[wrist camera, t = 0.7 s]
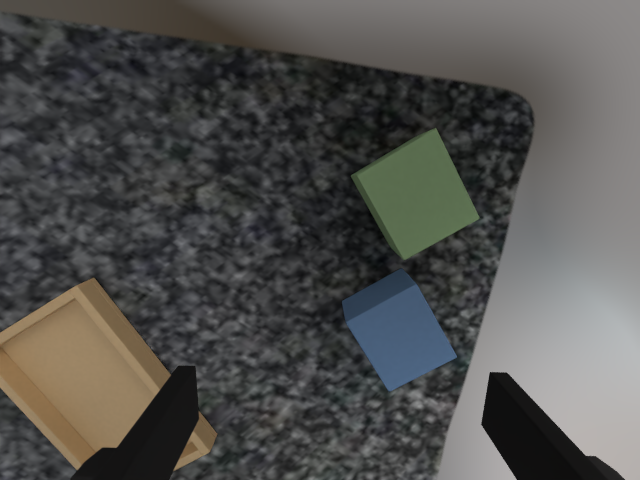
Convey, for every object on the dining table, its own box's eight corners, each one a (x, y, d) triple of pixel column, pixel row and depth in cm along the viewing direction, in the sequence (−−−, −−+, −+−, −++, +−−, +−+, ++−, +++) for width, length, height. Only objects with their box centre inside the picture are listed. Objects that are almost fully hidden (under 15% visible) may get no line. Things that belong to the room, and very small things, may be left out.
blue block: (401, 267, 26) (416, 283, 22) (437, 331, 27) (457, 357, 23) (341, 300, 26) (345, 322, 22) (378, 361, 27) (389, 392, 24)
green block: (416, 136, 23) (436, 127, 20) (454, 212, 25) (480, 218, 21) (350, 175, 24) (356, 175, 20) (390, 248, 25) (404, 260, 21)
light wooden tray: (94, 277, 26) (75, 285, 24) (217, 433, 29) (210, 452, 27) (-7, 340, 27) (-33, 352, 25) (122, 483, 30) (109, 505, 28)
